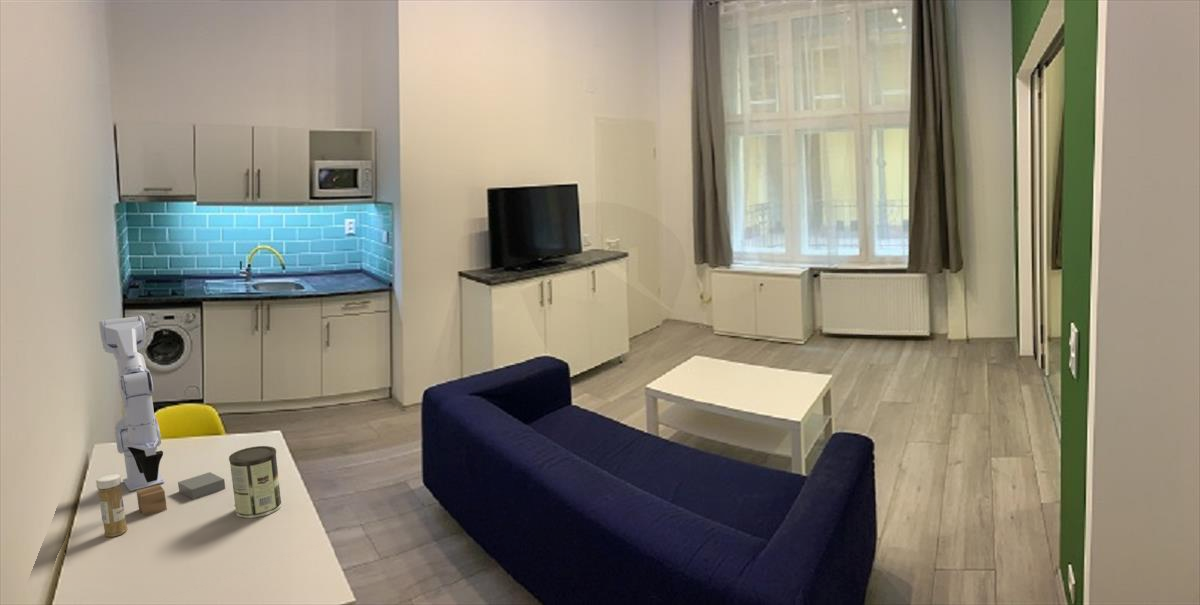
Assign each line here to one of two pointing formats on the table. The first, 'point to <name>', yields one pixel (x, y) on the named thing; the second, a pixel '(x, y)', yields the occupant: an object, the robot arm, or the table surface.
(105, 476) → the sprinkles bottle
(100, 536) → the table surface
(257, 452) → the coffee can
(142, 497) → the walnut cube
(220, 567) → the table surface
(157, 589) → the table surface
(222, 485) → the slate slab
